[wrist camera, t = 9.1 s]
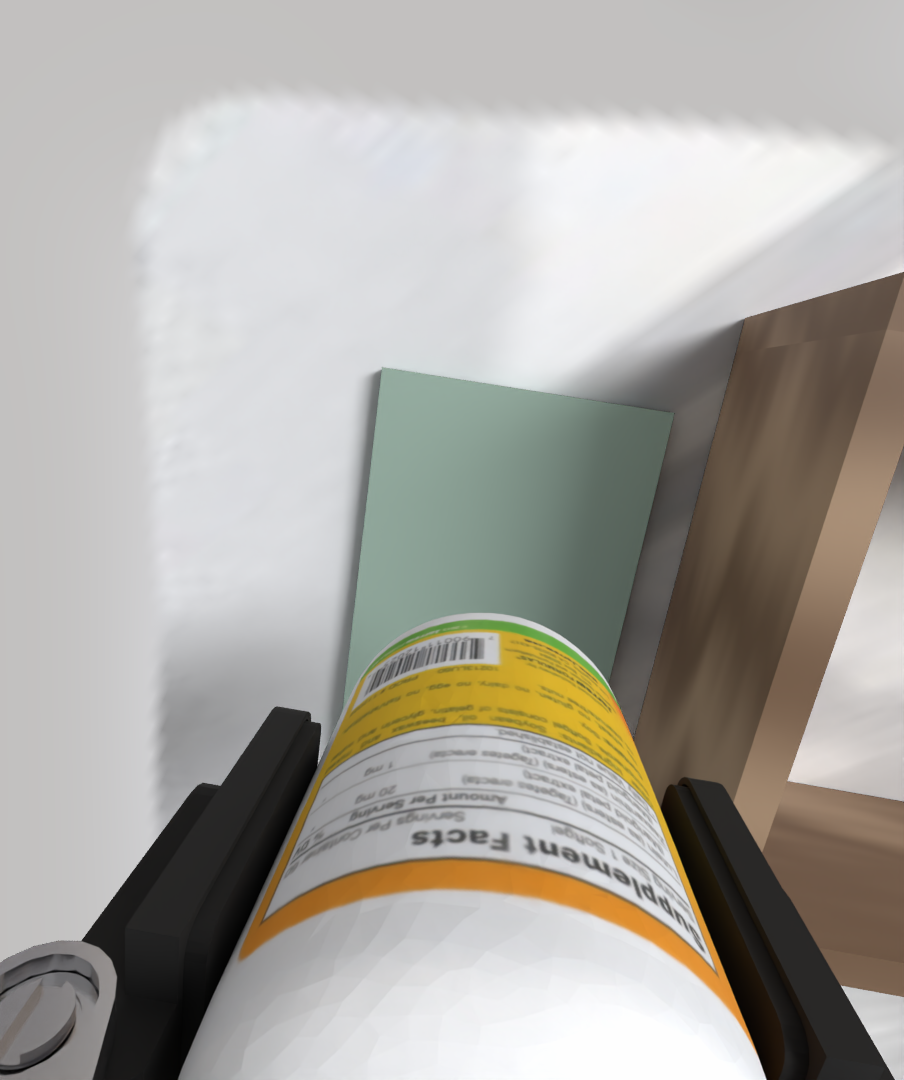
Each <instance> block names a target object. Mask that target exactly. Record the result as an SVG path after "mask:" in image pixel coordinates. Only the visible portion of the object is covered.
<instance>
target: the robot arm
mask: <svg viewBox="0 0 904 1080" xmlns="http://www.w3.org/2000/svg"><path fill="white" fill-rule="evenodd" d="M320 736H321V724H320V723H315V722H311V714H310V712H306V711H300V710H294V709H289V708H283V707H275V708H274V709H273V710H272V711H271V713H270V714H269V716H268V717H267V718H266V720H265V721H264V723H263V724H262V726H261V727H260V729H259V730H258V732H257V733H256V735H255V736H254V738H253V739H252V741H251V742H250V744H249V745H248V747H247V748H246V749H245V751H244V752H243V754H242V755H241V757H240V758H239V760H238V761H237V763H236V764H235V766H234V767H233V769H232V770H231V772H230V773H229V775H228V776H227V778H226V779H225V780H224V782H223V783H222V785H221V786H218V785H213V784H207V783H202V784H200V785H198V786H197V787H196V788H195V789H194V790H193V791H192V792H191V793H190V795H189V796H188V797H187V799H186V800H185V801H184V803H183V804H182V805H181V807H180V808H179V810H178V811H177V812H176V814H175V815H174V816H173V818H172V819H171V820H170V822H169V823H168V824H167V826H166V827H165V828H164V830H163V831H162V833H161V834H160V835H159V837H158V838H157V839H156V841H155V842H154V843H153V845H152V846H151V847H150V849H149V850H148V851H147V853H146V854H145V856H144V857H143V858H142V860H141V861H140V862H139V864H138V865H137V867H136V868H135V869H134V870H133V872H132V873H131V874H130V876H129V877H128V878H127V880H126V881H125V883H124V884H123V885H122V887H121V888H120V889H119V891H118V892H117V893H116V895H115V896H114V897H113V899H112V900H111V901H110V903H109V904H108V906H107V907H106V908H105V910H104V911H103V912H102V914H101V915H100V917H99V918H98V919H97V920H96V922H95V923H94V924H93V926H92V928H91V929H90V930H89V931H88V933H87V934H86V935H85V937H84V938H83V939H82V941H56V942H51V943H46V944H42V945H38V946H33V947H31V948H29V949H26V950H24V951H22V952H20V953H17V954H15V955H13V956H11V957H8V958H7V959H5V960H3V961H2V962H1V963H0V1080H178V1078H179V1075H180V1072H181V1069H182V1067H183V1065H184V1062H185V1060H186V1057H187V1055H188V1053H189V1050H190V1048H191V1046H192V1043H193V1041H194V1039H195V1036H196V1034H197V1032H198V1029H199V1027H200V1025H201V1022H202V1020H203V1017H204V1015H205V1013H206V1010H207V1008H208V1006H209V1003H210V1001H211V999H212V997H213V994H214V992H215V990H216V988H217V986H218V983H219V981H220V979H221V977H222V975H223V973H224V970H225V968H226V966H227V964H228V962H229V960H230V957H231V955H232V953H233V951H234V949H235V946H236V944H237V942H238V940H239V938H240V936H241V933H242V931H243V929H244V927H245V925H246V923H247V920H248V918H249V916H250V914H251V912H252V909H253V907H254V905H255V903H256V901H257V899H258V896H259V894H260V892H261V890H262V888H263V885H264V883H265V881H266V879H267V877H268V874H269V872H270V870H271V868H272V866H273V863H274V861H275V859H276V857H277V855H278V852H279V850H280V848H281V846H282V844H283V841H284V839H285V837H286V835H287V833H288V830H289V828H290V826H291V824H292V822H293V819H294V817H295V815H296V813H297V811H298V808H299V806H300V804H301V802H302V800H303V797H304V795H305V793H306V791H307V789H308V786H309V784H310V782H311V780H312V778H313V775H314V773H315V771H316V769H317V765H318V755H319V745H320ZM660 809H661V812H662V814H663V817H664V819H665V822H666V824H667V827H668V829H669V832H670V834H671V837H672V840H673V842H674V845H675V847H676V850H677V852H678V855H679V857H680V860H681V863H682V865H683V868H684V871H685V873H686V876H687V879H688V881H689V884H690V886H691V889H692V892H693V894H694V897H695V899H696V902H697V904H698V907H699V909H700V912H701V914H702V917H703V919H704V922H705V924H706V927H707V929H708V932H709V934H710V937H711V939H712V942H713V944H714V947H715V949H716V952H717V954H718V957H719V959H720V962H721V964H722V967H723V969H724V972H725V974H726V977H727V979H728V982H729V984H730V987H731V989H732V992H733V994H734V997H735V1000H736V1002H737V1004H738V1007H739V1009H740V1012H741V1014H742V1017H743V1019H744V1022H745V1024H746V1027H747V1029H748V1032H749V1034H750V1037H751V1039H752V1042H753V1044H754V1047H755V1049H756V1052H757V1055H758V1057H759V1060H760V1063H761V1066H762V1069H763V1071H764V1074H765V1077H766V1080H895V1079H894V1077H893V1076H892V1074H891V1072H890V1071H889V1069H888V1067H887V1065H886V1064H885V1062H884V1060H883V1058H882V1057H881V1055H880V1053H879V1051H878V1050H877V1048H876V1046H875V1045H874V1043H873V1041H872V1039H871V1038H870V1036H869V1034H868V1032H867V1031H866V1029H865V1027H864V1025H863V1024H862V1022H861V1020H860V1019H859V1017H858V1015H857V1013H856V1012H855V1010H854V1008H853V1006H852V1005H851V1003H850V1001H849V999H848V998H847V996H846V994H845V993H844V991H843V989H842V987H841V986H840V984H839V982H838V980H837V979H836V977H835V975H834V973H833V972H832V970H831V968H830V967H829V965H828V963H827V961H826V960H825V958H824V956H823V954H822V953H821V951H820V949H819V947H818V946H817V944H816V942H815V941H814V939H813V937H812V935H811V934H810V932H809V930H808V928H807V927H806V925H805V923H804V921H803V920H802V918H801V916H800V914H799V913H798V911H797V909H796V908H795V906H794V904H793V902H792V901H791V899H790V898H789V896H788V895H787V894H786V892H785V891H784V890H783V888H782V887H781V885H780V883H779V881H778V880H777V878H776V876H775V874H774V873H773V871H772V869H771V868H770V866H769V864H768V862H767V861H766V859H765V857H764V855H763V854H762V852H761V850H760V848H759V847H758V845H757V843H756V841H755V840H754V838H753V836H752V834H751V833H750V831H749V829H748V827H747V826H746V824H745V822H744V820H743V819H742V817H741V815H740V813H739V812H738V810H737V808H736V806H735V805H734V803H733V801H732V799H731V798H730V796H729V794H728V792H727V791H726V789H725V788H724V786H723V785H722V784H720V783H717V782H711V781H706V780H700V779H694V778H688V777H683V778H681V779H680V780H679V782H678V784H677V785H673V784H670V785H669V786H668V787H667V789H666V791H665V794H664V798H663V801H662V804H661V808H660Z"/></svg>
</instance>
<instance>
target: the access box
mask: <svg viewBox="0 0 904 1080" xmlns="http://www.w3.org/2000/svg"><path fill="white" fill-rule="evenodd" d="M903 447H904V272H902V273H899V274H895V275H892V276H888V277H885V278H882V279H878V280H875V281H871V282H868V283H864V284H861V285H857V286H854V287H851V288H847V289H844V290H840V291H837V292H833V293H830V294H826V295H823V296H820V297H816V298H813V299H809V300H806V301H802V302H799V303H795V304H792V305H788V306H785V307H782V308H778V309H775V310H771V311H768V312H764V313H761V314H757V315H754V316H751V317H747V318H745V320H744V324H743V328H742V332H741V336H740V339H739V343H738V347H737V351H736V355H735V358H734V362H733V366H732V370H731V373H730V377H729V381H728V385H727V389H726V392H725V396H724V400H723V404H722V408H721V411H720V415H719V419H718V423H717V427H716V430H715V434H714V438H713V442H712V445H711V449H710V453H709V457H708V461H707V464H706V468H705V472H704V476H703V480H702V483H701V487H700V491H699V495H698V499H697V502H696V506H695V510H694V514H693V517H692V521H691V525H690V529H689V533H688V536H687V540H686V544H685V548H684V552H683V555H682V559H681V563H680V567H679V571H678V574H677V578H676V582H675V586H674V589H673V593H672V597H671V601H670V605H669V608H668V612H667V616H666V620H665V624H664V627H663V631H662V635H661V639H660V643H659V646H658V650H657V654H656V658H655V662H654V665H653V669H652V673H651V677H650V680H649V684H648V688H647V692H646V696H645V699H644V703H643V707H642V711H641V715H640V718H639V722H638V726H637V730H636V734H635V737H634V743H635V746H636V749H637V751H638V754H639V756H640V759H641V762H642V764H643V767H644V769H645V772H646V774H647V777H648V779H649V782H650V784H651V787H652V789H653V792H654V794H655V797H656V799H657V802H658V804H659V807H660V808H661V804H662V801H663V798H664V794H665V791H666V789H667V787H668V786H669V785H670V784H673V785H677V784H678V782H679V780H680V779H681V778H683V777H688V778H694V779H700V780H706V781H711V782H717V783H720V784H722V785H723V786H724V788H725V789H726V791H727V792H728V794H729V796H730V798H731V799H732V801H733V803H734V805H735V806H736V808H737V810H738V812H739V813H740V815H741V817H742V819H743V820H744V822H745V824H746V826H747V827H748V829H749V831H750V833H751V834H752V836H753V838H754V840H755V841H756V843H757V845H758V847H759V848H760V850H761V852H762V854H763V855H764V857H765V859H766V861H767V862H768V864H769V866H770V868H771V869H772V871H773V873H774V874H775V876H776V878H777V880H778V881H779V883H780V885H781V887H782V888H783V890H784V891H785V892H786V894H787V895H788V896H789V898H790V899H791V901H792V902H793V904H794V906H795V908H796V909H797V911H798V913H799V914H800V916H801V918H802V920H803V921H804V923H805V925H806V927H807V928H808V930H809V932H810V934H811V935H812V937H813V939H814V941H815V942H816V944H817V946H818V947H819V949H820V951H821V953H822V954H823V956H824V958H825V960H826V961H827V963H828V965H829V967H830V968H831V970H832V972H833V973H834V975H835V977H836V979H837V980H838V982H839V984H840V985H842V986H847V987H853V988H858V989H863V990H869V991H874V992H880V993H885V994H890V995H896V996H901V997H904V802H902V801H897V800H891V799H885V798H879V797H874V796H868V795H862V794H856V793H851V792H845V791H839V790H834V789H828V788H822V787H816V786H811V785H805V784H799V783H793V782H788V781H787V780H788V777H789V774H790V771H791V768H792V765H793V762H794V760H795V757H796V754H797V751H798V748H799V745H800V742H801V740H802V737H803V734H804V731H805V728H806V725H807V722H808V719H809V717H810V714H811V711H812V708H813V705H814V702H815V699H816V696H817V694H818V691H819V688H820V685H821V682H822V679H823V676H824V673H825V671H826V668H827V665H828V662H829V659H830V656H831V653H832V650H833V648H834V645H835V642H836V639H837V636H838V633H839V630H840V628H841V625H842V622H843V619H844V616H845V613H846V610H847V607H848V605H849V602H850V599H851V596H852V593H853V590H854V587H855V584H856V582H857V579H858V576H859V573H860V570H861V567H862V564H863V561H864V559H865V556H866V553H867V550H868V547H869V544H870V541H871V539H872V536H873V533H874V530H875V527H876V524H877V521H878V518H879V516H880V513H881V510H882V507H883V504H884V501H885V498H886V495H887V493H888V490H889V487H890V484H891V481H892V478H893V475H894V472H895V470H896V467H897V464H898V461H899V458H900V455H901V452H902V449H903Z"/></svg>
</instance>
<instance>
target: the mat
mask: <svg viewBox="0 0 904 1080" xmlns="http://www.w3.org/2000/svg"><path fill="white" fill-rule="evenodd" d="M674 414H675V413H671V412H665V411H658V410H652V409H645V408H639V407H633V406H626V405H620V404H613V403H607V402H601V401H594V400H588V399H581V398H575V397H569V396H562V395H556V394H549V393H543V392H537V391H530V390H524V389H517V388H511V387H505V386H498V385H492V384H485V383H479V382H473V381H466V380H460V379H453V378H447V377H441V376H434V375H428V374H421V373H415V372H409V371H402V370H396V369H389V368H383V367H382V372H381V381H380V389H379V398H378V407H377V415H376V424H375V433H374V441H373V450H372V459H371V467H370V476H369V485H368V493H367V502H366V511H365V519H364V528H363V537H362V545H361V554H360V563H359V571H358V580H357V589H356V597H355V606H354V615H353V623H352V632H351V641H350V649H349V658H348V667H347V675H346V684H345V693H344V701H343V710H344V707H345V705H346V703H347V701H348V699H349V697H350V695H351V693H352V691H353V689H354V687H355V685H356V683H357V681H358V680H359V678H360V676H361V675H362V673H363V672H364V670H365V669H366V668H367V666H368V665H369V664H370V662H371V661H372V660H373V659H374V657H375V656H376V655H377V654H378V653H379V652H380V651H381V650H382V649H384V648H385V647H386V646H387V645H388V644H389V643H391V642H392V641H393V640H395V639H396V638H397V637H399V636H400V635H402V634H403V633H405V632H407V631H409V630H411V629H413V628H415V627H417V626H419V625H421V624H423V623H426V622H429V621H431V620H434V619H438V618H441V617H445V616H450V615H455V614H465V613H496V614H504V615H510V616H515V617H519V618H523V619H526V620H529V621H532V622H535V623H537V624H540V625H542V626H544V627H546V628H548V629H550V630H552V631H554V632H556V633H557V634H559V635H561V636H562V637H564V638H565V639H566V640H568V641H569V642H570V643H572V644H573V645H574V646H576V647H577V648H578V649H579V650H580V651H581V652H582V653H584V654H585V655H586V656H587V657H588V658H589V659H590V660H591V661H592V662H593V664H594V665H595V666H596V667H597V668H598V670H599V671H600V672H601V674H602V675H603V676H604V678H605V680H606V681H607V683H608V684H609V680H610V676H611V672H612V668H613V664H614V659H615V655H616V651H617V647H618V643H619V639H620V635H621V631H622V627H623V623H624V619H625V614H626V610H627V606H628V602H629V598H630V594H631V590H632V586H633V582H634V578H635V573H636V569H637V565H638V561H639V557H640V553H641V549H642V545H643V541H644V537H645V533H646V528H647V524H648V520H649V516H650V512H651V508H652V504H653V500H654V496H655V492H656V488H657V483H658V479H659V475H660V471H661V467H662V463H663V459H664V455H665V451H666V447H667V442H668V438H669V434H670V430H671V426H672V422H673V418H674ZM343 710H342V712H343Z"/></svg>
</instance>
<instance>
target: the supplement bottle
mask: <svg viewBox="0 0 904 1080" xmlns="http://www.w3.org/2000/svg"><path fill="white" fill-rule="evenodd" d="M178 1080H766V1077H765V1074H764V1071H763V1069H762V1066H761V1063H760V1060H759V1057H758V1055H757V1052H756V1049H755V1047H754V1044H753V1042H752V1039H751V1037H750V1034H749V1032H748V1029H747V1027H746V1024H745V1022H744V1019H743V1017H742V1014H741V1012H740V1009H739V1007H738V1004H737V1002H736V1000H735V997H734V994H733V992H732V989H731V987H730V984H729V982H728V979H727V977H726V974H725V972H724V969H723V967H722V964H721V962H720V959H719V957H718V954H717V952H716V949H715V947H714V944H713V942H712V939H711V937H710V934H709V932H708V929H707V927H706V924H705V922H704V919H703V917H702V914H701V912H700V909H699V907H698V904H697V902H696V899H695V897H694V894H693V892H692V889H691V886H690V884H689V881H688V879H687V876H686V873H685V871H684V868H683V865H682V863H681V860H680V857H679V855H678V852H677V850H676V847H675V845H674V842H673V840H672V837H671V834H670V832H669V829H668V827H667V824H666V822H665V819H664V817H663V814H662V812H661V809H660V807H659V804H658V802H657V799H656V797H655V794H654V792H653V789H652V787H651V784H650V782H649V779H648V777H647V774H646V772H645V769H644V767H643V764H642V762H641V759H640V756H639V754H638V751H637V749H636V746H635V743H634V741H633V738H632V736H631V733H630V731H629V729H628V726H627V724H626V721H625V719H624V716H623V714H622V711H621V709H620V707H619V705H618V703H617V700H616V698H615V696H614V694H613V692H612V690H611V688H610V686H609V685H608V683H607V681H606V680H605V678H604V676H603V675H602V674H601V672H600V671H599V670H598V668H597V667H596V666H595V665H594V664H593V662H592V661H591V660H590V659H589V658H588V657H587V656H586V655H585V654H584V653H582V652H581V651H580V650H579V649H578V648H577V647H576V646H574V645H573V644H572V643H570V642H569V641H568V640H566V639H565V638H564V637H562V636H561V635H559V634H557V633H556V632H554V631H552V630H550V629H548V628H546V627H544V626H542V625H540V624H537V623H535V622H532V621H529V620H526V619H523V618H519V617H515V616H510V615H504V614H496V613H465V614H455V615H450V616H445V617H441V618H438V619H434V620H431V621H429V622H426V623H423V624H421V625H419V626H417V627H415V628H413V629H411V630H409V631H407V632H405V633H403V634H402V635H400V636H399V637H397V638H396V639H395V640H393V641H392V642H391V643H389V644H388V645H387V646H386V647H385V648H384V649H382V650H381V651H380V652H379V653H378V654H377V655H376V656H375V657H374V659H373V660H372V661H371V662H370V664H369V665H368V666H367V668H366V669H365V670H364V672H363V673H362V675H361V676H360V678H359V680H358V681H357V683H356V685H355V687H354V689H353V691H352V693H351V695H350V697H349V699H348V701H347V703H346V705H345V707H344V710H343V712H342V714H341V716H340V718H339V720H338V722H337V725H336V727H335V729H334V731H333V733H332V736H331V738H330V740H329V742H328V745H327V747H326V749H325V751H324V753H323V756H322V758H321V760H320V762H319V764H318V767H317V769H316V771H315V773H314V775H313V778H312V780H311V782H310V784H309V786H308V789H307V791H306V793H305V795H304V797H303V800H302V802H301V804H300V806H299V808H298V811H297V813H296V815H295V817H294V819H293V822H292V824H291V826H290V828H289V830H288V833H287V835H286V837H285V839H284V841H283V844H282V846H281V848H280V850H279V852H278V855H277V857H276V859H275V861H274V863H273V866H272V868H271V870H270V872H269V874H268V877H267V879H266V881H265V883H264V885H263V888H262V890H261V892H260V894H259V896H258V899H257V901H256V903H255V905H254V907H253V909H252V912H251V914H250V916H249V918H248V920H247V923H246V925H245V927H244V929H243V931H242V933H241V936H240V938H239V940H238V942H237V944H236V946H235V949H234V951H233V953H232V955H231V957H230V960H229V962H228V964H227V966H226V968H225V970H224V973H223V975H222V977H221V979H220V981H219V983H218V986H217V988H216V990H215V992H214V994H213V997H212V999H211V1001H210V1003H209V1006H208V1008H207V1010H206V1013H205V1015H204V1017H203V1020H202V1022H201V1025H200V1027H199V1029H198V1032H197V1034H196V1036H195V1039H194V1041H193V1043H192V1046H191V1048H190V1050H189V1053H188V1055H187V1057H186V1060H185V1062H184V1065H183V1067H182V1069H181V1072H180V1075H179V1078H178Z"/></svg>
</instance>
